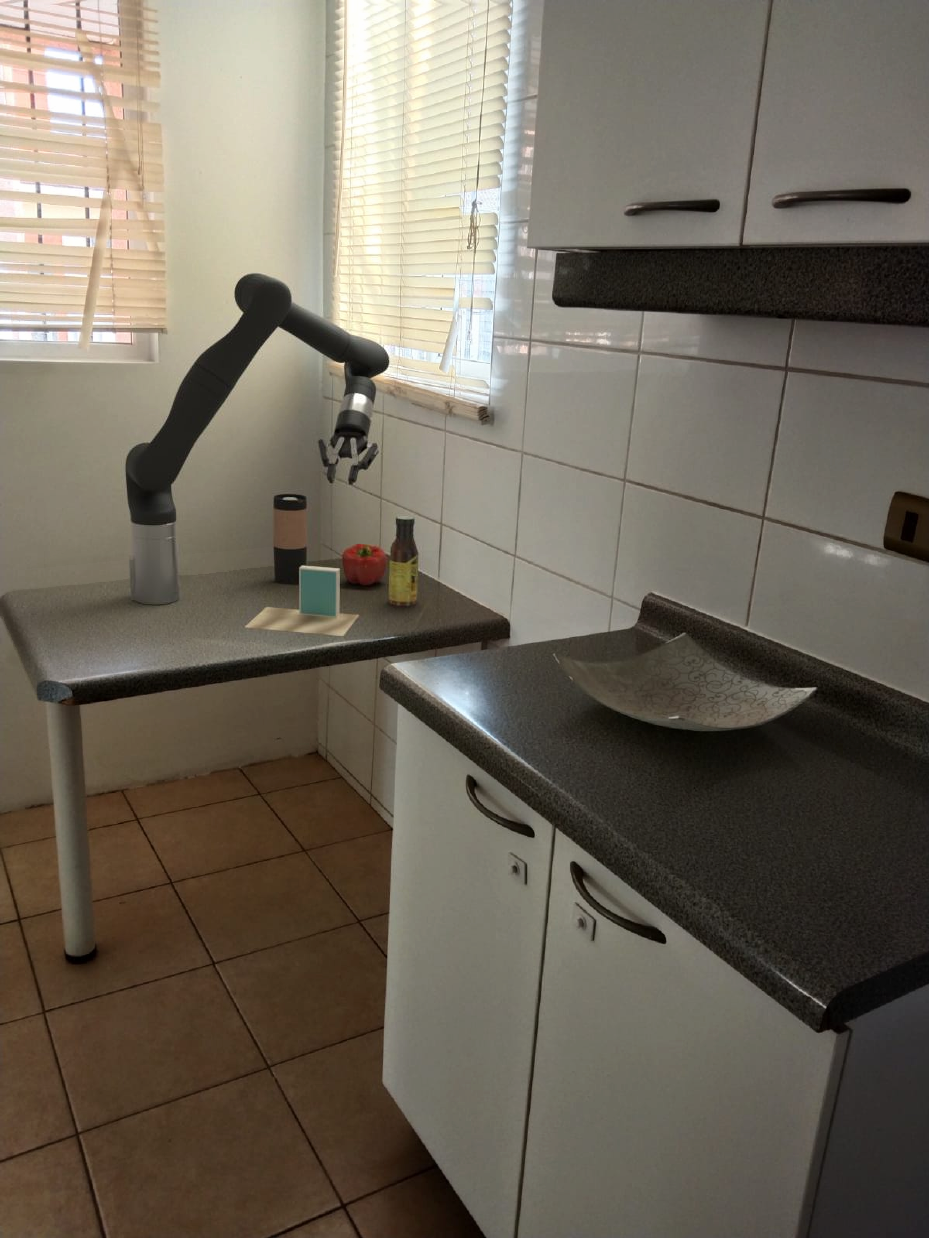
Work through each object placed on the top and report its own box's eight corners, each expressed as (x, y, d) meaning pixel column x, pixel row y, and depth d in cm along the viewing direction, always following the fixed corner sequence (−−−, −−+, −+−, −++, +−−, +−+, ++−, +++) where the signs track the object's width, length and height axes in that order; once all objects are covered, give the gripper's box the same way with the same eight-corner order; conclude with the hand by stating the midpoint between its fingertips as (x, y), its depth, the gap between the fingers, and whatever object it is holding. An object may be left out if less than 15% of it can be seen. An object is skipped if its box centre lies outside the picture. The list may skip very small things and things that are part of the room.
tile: (299, 614, 208) (299, 568, 205) (302, 611, 210) (302, 565, 207) (336, 617, 207) (337, 571, 204) (339, 614, 209) (339, 568, 206)
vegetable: (390, 589, 233) (391, 547, 229) (345, 591, 230) (346, 548, 227) (381, 577, 243) (382, 536, 239) (338, 578, 240) (339, 537, 237)
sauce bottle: (416, 611, 218) (419, 521, 212) (387, 609, 217) (389, 520, 211) (417, 602, 224) (420, 515, 218) (389, 601, 224) (391, 513, 218)
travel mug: (273, 576, 238) (272, 493, 232) (306, 576, 239) (306, 494, 233) (273, 585, 231) (273, 500, 225) (307, 585, 232) (307, 500, 226)
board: (244, 631, 199) (244, 627, 199) (266, 611, 212) (266, 607, 212) (343, 640, 197) (343, 635, 196) (359, 619, 210) (359, 615, 210)
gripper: (320, 406, 222) (305, 469, 215) (383, 410, 221) (370, 474, 213) (326, 427, 229) (311, 489, 221) (387, 431, 227) (375, 494, 220)
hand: (340, 481), depth 217 cm, fingers open, 3 cm apart
